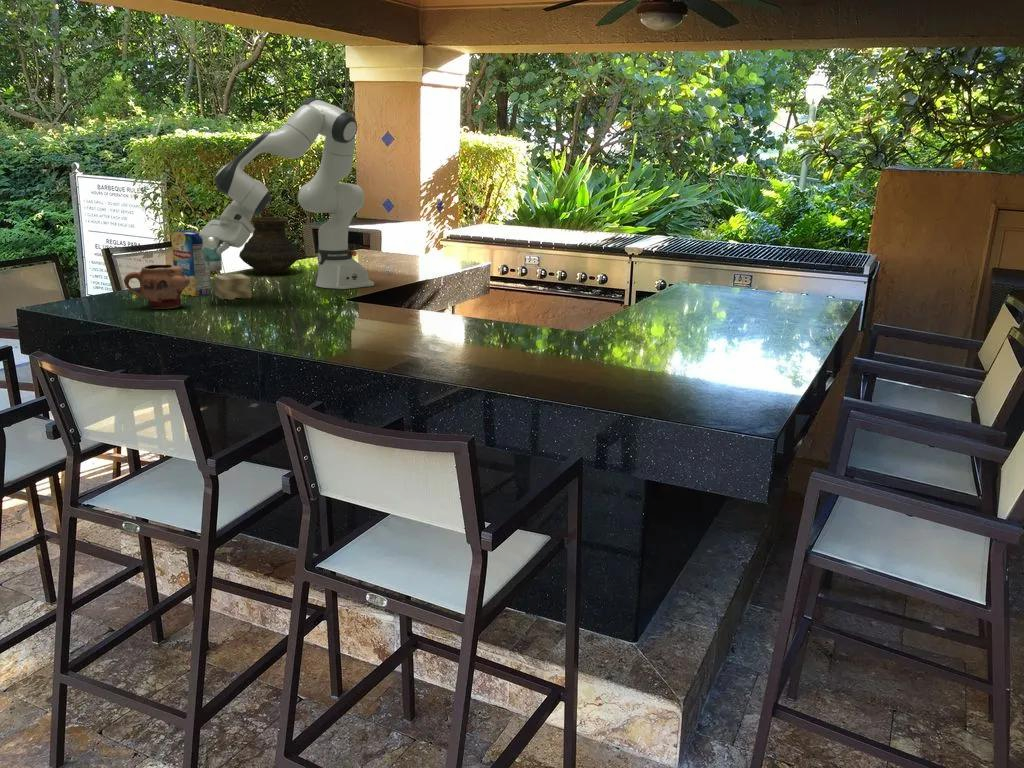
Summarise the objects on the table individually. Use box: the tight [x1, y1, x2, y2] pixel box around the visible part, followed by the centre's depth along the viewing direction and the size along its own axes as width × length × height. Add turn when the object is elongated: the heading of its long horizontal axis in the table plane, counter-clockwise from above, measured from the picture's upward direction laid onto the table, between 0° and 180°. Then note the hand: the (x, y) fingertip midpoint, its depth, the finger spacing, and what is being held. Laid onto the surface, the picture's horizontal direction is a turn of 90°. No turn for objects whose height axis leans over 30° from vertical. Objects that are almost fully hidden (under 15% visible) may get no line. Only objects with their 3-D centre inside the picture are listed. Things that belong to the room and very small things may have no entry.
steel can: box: [202, 236, 223, 272], centre depth 287 cm, size 6×6×11 cm
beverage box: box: [170, 229, 212, 297], centre depth 305 cm, size 7×11×22 cm, turn 59°
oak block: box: [213, 273, 252, 301], centre depth 304 cm, size 10×10×7 cm
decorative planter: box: [123, 264, 190, 310], centre depth 281 cm, size 20×12×14 cm, turn 117°
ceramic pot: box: [238, 216, 301, 275], centre depth 355 cm, size 24×24×22 cm
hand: (210, 252), depth 286 cm, fingers closed on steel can, 6 cm apart
